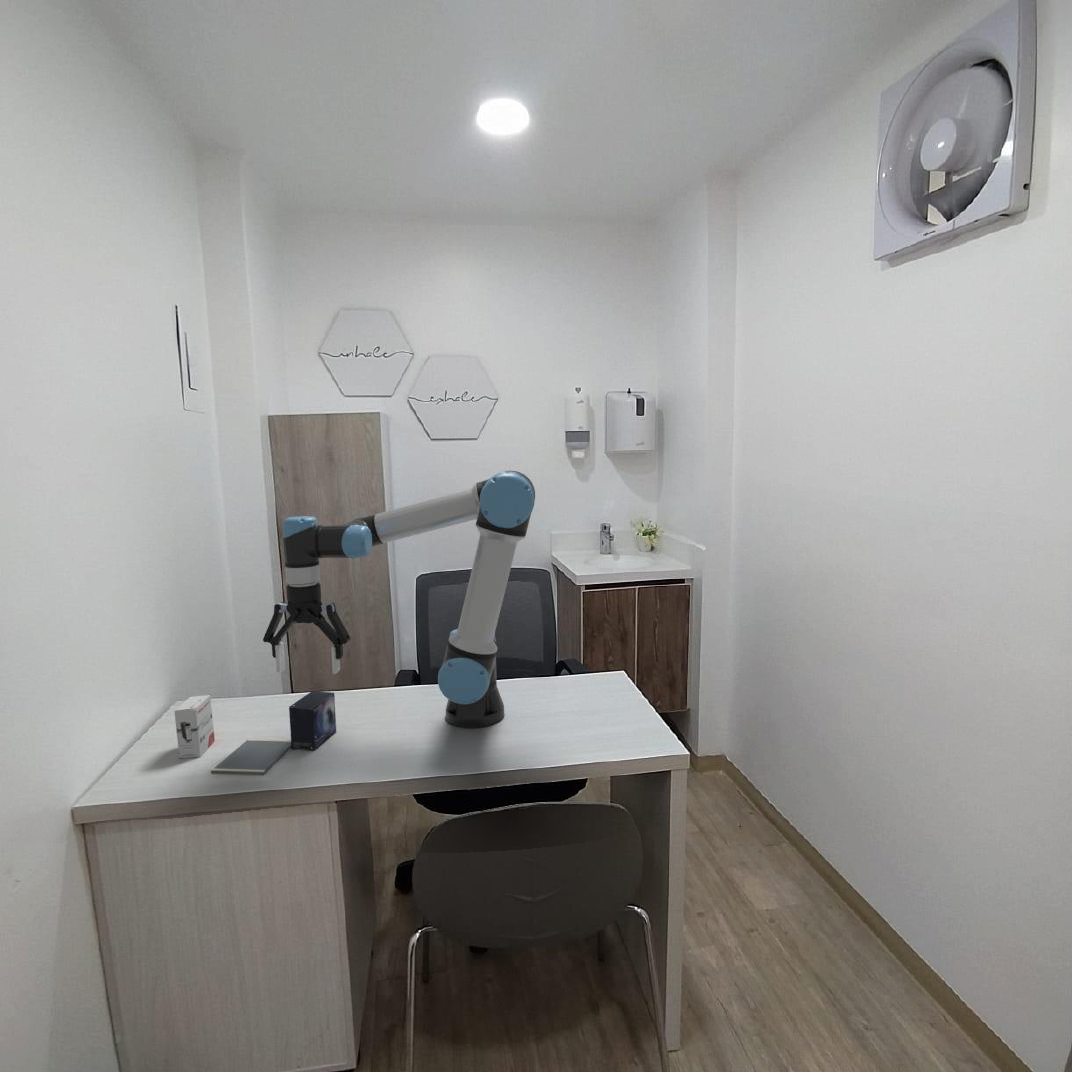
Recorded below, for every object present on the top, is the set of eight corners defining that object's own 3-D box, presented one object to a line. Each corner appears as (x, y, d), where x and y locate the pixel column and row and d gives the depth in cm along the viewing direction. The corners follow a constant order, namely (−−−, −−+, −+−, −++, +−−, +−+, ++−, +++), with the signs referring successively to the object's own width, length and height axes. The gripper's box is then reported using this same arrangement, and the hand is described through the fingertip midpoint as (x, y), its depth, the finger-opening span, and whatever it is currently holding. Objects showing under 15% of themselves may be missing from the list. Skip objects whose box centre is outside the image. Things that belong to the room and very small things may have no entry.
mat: (296, 742, 153) (295, 740, 153) (263, 774, 138) (263, 771, 138) (248, 741, 154) (248, 738, 154) (211, 773, 139) (210, 770, 139)
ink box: (194, 741, 155) (190, 695, 153) (215, 740, 155) (211, 694, 154) (178, 759, 146) (172, 709, 145) (200, 757, 147) (195, 708, 145)
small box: (315, 752, 148) (312, 708, 147) (290, 749, 150) (286, 707, 148) (338, 732, 159) (335, 691, 157) (314, 730, 160) (311, 690, 158)
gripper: (361, 580, 151) (365, 666, 154) (260, 579, 154) (266, 664, 157) (349, 587, 144) (353, 678, 147) (243, 586, 146) (250, 675, 149)
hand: (308, 671), depth 152 cm, fingers open, 13 cm apart
